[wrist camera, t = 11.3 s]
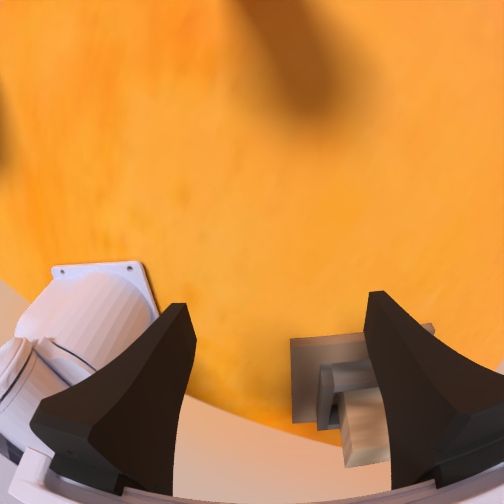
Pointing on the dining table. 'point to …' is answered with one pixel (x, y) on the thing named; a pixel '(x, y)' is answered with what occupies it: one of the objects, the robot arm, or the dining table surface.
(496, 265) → the dining table surface
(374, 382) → the socket block
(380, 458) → the square peg
